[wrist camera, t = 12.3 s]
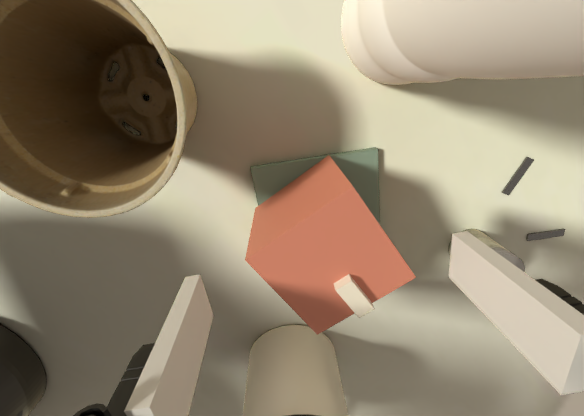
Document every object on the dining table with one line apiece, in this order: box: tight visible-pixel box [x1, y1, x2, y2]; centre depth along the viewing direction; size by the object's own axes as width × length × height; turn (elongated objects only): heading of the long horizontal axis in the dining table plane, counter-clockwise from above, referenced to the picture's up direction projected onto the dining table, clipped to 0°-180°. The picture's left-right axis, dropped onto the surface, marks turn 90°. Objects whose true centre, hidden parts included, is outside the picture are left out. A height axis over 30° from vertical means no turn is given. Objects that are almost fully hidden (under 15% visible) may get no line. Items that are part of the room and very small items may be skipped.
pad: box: [251, 148, 380, 225], centre depth 22 cm, size 9×9×1 cm
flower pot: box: [0, 0, 197, 218], centre depth 15 cm, size 9×9×9 cm
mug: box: [243, 325, 348, 416], centre depth 24 cm, size 12×10×9 cm
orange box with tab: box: [245, 155, 416, 335], centre depth 18 cm, size 7×7×8 cm
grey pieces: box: [449, 157, 565, 272], centre depth 21 cm, size 10×9×4 cm
